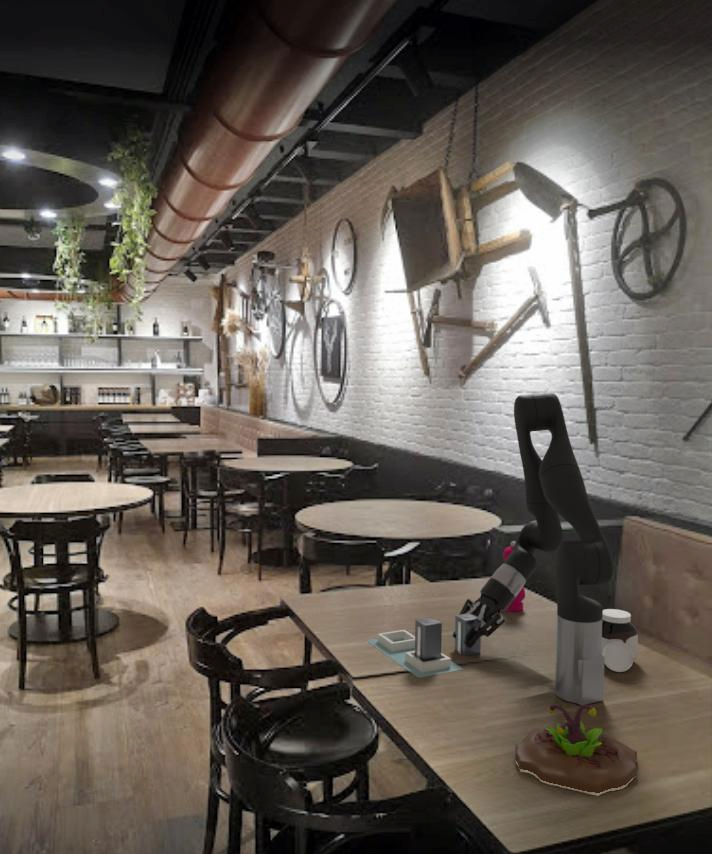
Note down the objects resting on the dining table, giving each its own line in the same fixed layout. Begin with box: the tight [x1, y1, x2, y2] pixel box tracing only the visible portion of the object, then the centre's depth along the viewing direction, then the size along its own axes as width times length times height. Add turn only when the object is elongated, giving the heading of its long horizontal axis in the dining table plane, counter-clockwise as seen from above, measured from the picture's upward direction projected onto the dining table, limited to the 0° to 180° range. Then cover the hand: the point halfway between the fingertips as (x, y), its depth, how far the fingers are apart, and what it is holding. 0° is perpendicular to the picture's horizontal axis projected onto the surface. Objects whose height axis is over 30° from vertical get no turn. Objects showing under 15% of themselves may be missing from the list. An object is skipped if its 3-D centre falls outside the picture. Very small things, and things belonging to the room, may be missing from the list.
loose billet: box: [454, 613, 482, 657], centre depth 182 cm, size 4×5×10 cm
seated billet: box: [414, 617, 443, 662], centre depth 174 cm, size 4×5×10 cm
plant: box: [514, 704, 638, 793], centre depth 133 cm, size 20×20×11 cm
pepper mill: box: [502, 540, 526, 613], centre depth 221 cm, size 7×7×20 cm
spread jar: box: [601, 608, 639, 673], centre depth 179 cm, size 12×11×12 cm
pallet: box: [365, 629, 464, 679], centre depth 181 cm, size 26×12×4 cm, turn 26°
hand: (461, 641), depth 182 cm, fingers closed on loose billet, 4 cm apart
